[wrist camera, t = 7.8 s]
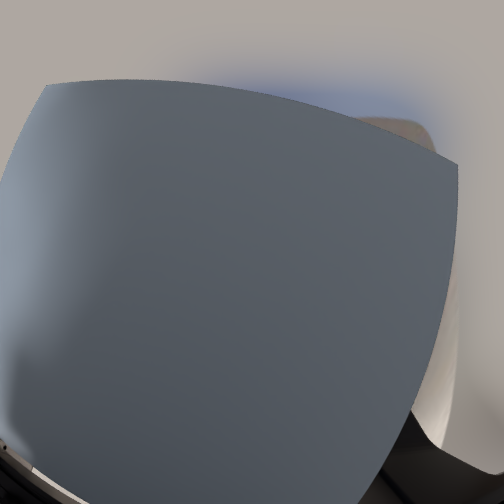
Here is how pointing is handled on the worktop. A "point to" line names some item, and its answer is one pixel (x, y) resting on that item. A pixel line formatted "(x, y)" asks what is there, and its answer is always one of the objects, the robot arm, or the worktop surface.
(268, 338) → the block
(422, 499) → the robot arm
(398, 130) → the worktop surface
